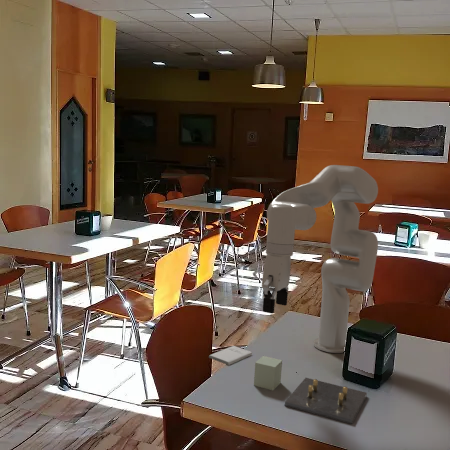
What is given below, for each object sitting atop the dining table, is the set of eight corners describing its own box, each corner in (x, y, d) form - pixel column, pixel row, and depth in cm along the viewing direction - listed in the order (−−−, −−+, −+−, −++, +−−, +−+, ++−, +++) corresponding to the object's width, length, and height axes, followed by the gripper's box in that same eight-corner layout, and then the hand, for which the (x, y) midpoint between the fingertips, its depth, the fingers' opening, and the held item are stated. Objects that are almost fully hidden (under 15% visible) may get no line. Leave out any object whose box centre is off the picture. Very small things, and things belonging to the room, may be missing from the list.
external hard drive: (208, 359, 174) (232, 349, 183) (228, 367, 169) (252, 356, 178) (208, 354, 173) (232, 345, 183) (228, 362, 168) (252, 351, 178)
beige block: (261, 378, 160) (263, 355, 160) (280, 383, 158) (282, 360, 157) (253, 385, 155) (255, 362, 154) (273, 390, 153) (274, 367, 152)
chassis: (305, 381, 160) (306, 368, 159) (366, 396, 152) (367, 382, 151) (284, 405, 144) (285, 390, 143) (351, 424, 136) (353, 408, 135)
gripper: (278, 243, 159) (274, 299, 161) (254, 251, 144) (250, 313, 146) (302, 246, 156) (297, 304, 158) (280, 255, 140) (275, 318, 143)
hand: (274, 308), depth 152 cm, fingers open, 9 cm apart
